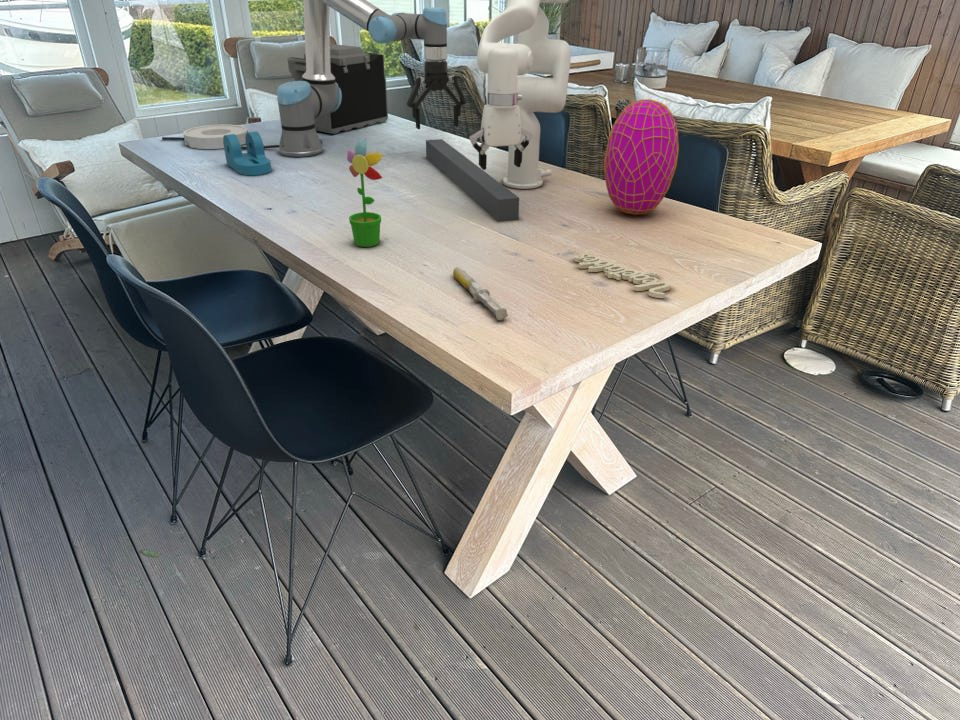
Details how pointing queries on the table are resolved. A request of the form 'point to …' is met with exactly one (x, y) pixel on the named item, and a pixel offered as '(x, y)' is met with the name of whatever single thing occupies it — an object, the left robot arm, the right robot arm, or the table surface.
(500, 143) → the right robot arm
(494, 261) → the table surface
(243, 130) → the ashtray
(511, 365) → the table surface
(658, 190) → the decorative egg
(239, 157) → the camera mount
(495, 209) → the post
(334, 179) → the table surface
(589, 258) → the decorative sign
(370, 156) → the potted flower
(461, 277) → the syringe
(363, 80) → the electronic device
